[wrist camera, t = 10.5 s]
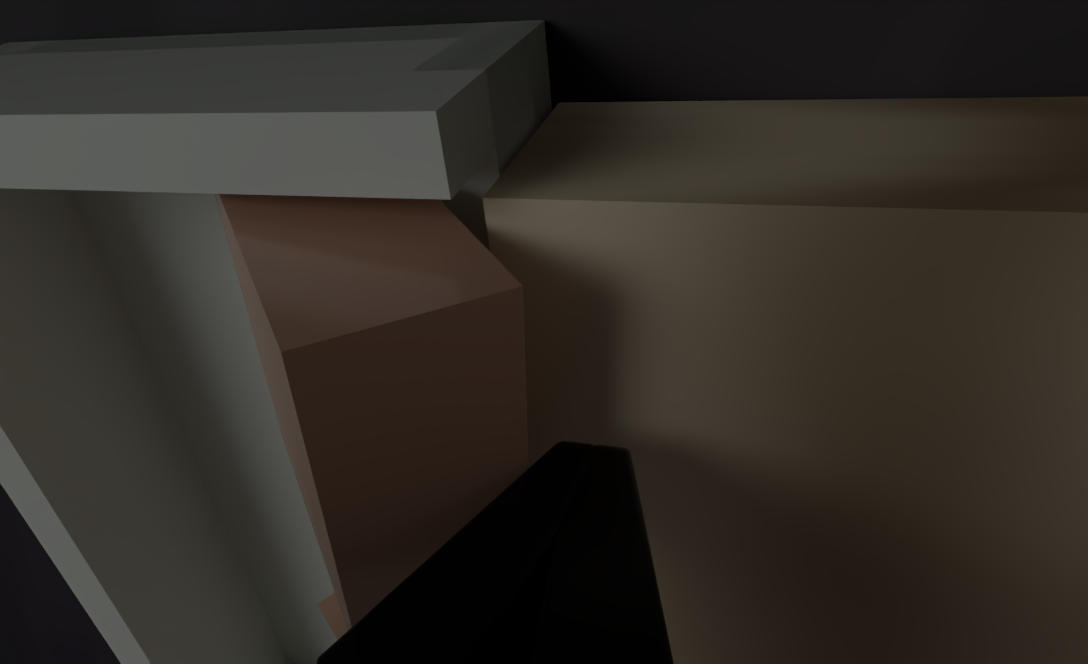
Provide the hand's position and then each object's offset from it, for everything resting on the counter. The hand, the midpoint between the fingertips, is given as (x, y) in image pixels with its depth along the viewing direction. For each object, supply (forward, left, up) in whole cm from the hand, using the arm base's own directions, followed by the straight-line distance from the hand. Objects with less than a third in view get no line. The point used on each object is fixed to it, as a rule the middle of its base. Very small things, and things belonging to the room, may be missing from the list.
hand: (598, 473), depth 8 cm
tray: (+5, +4, -4) cm, 7 cm away
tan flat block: (-3, +3, -4) cm, 6 cm away
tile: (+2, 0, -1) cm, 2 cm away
